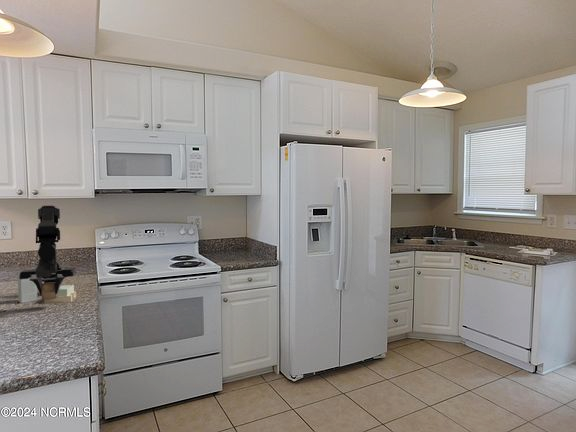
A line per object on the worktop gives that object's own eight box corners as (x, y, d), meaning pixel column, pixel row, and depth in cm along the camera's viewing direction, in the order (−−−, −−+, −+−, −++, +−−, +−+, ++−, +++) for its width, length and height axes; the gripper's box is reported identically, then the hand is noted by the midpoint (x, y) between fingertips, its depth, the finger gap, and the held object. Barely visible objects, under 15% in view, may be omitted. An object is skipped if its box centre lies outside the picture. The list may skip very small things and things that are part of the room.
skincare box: (34, 298, 169) (33, 272, 168) (37, 300, 166) (36, 273, 166) (17, 301, 164) (17, 274, 164) (21, 303, 161) (20, 275, 161)
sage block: (54, 292, 170) (54, 285, 170) (73, 291, 172) (73, 285, 172) (46, 296, 162) (46, 289, 162) (67, 296, 164) (67, 289, 164)
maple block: (51, 299, 170) (50, 292, 170) (76, 297, 173) (76, 290, 173) (44, 304, 161) (44, 297, 161) (70, 303, 164) (70, 296, 164)
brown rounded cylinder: (43, 297, 156) (43, 282, 156) (57, 296, 157) (57, 281, 157) (40, 300, 151) (39, 285, 151) (54, 299, 153) (54, 284, 152)
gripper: (13, 260, 143) (14, 301, 144) (69, 257, 149) (70, 297, 149) (23, 256, 154) (24, 294, 154) (75, 254, 159) (76, 291, 160)
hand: (49, 294), depth 154 cm, fingers closed on brown rounded cylinder, 5 cm apart
